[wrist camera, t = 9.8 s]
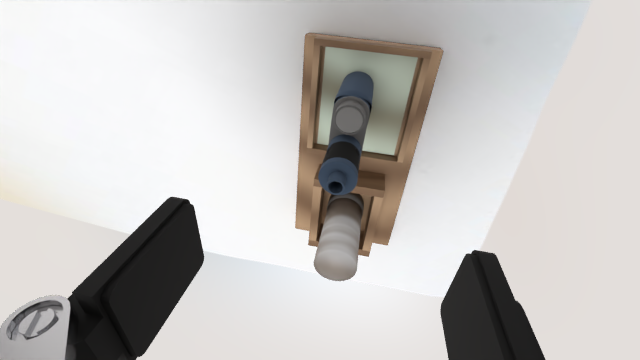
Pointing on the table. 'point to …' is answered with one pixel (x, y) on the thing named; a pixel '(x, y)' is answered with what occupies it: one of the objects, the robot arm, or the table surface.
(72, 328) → the robot arm
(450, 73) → the table surface
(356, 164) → the vaping device
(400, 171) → the holder
